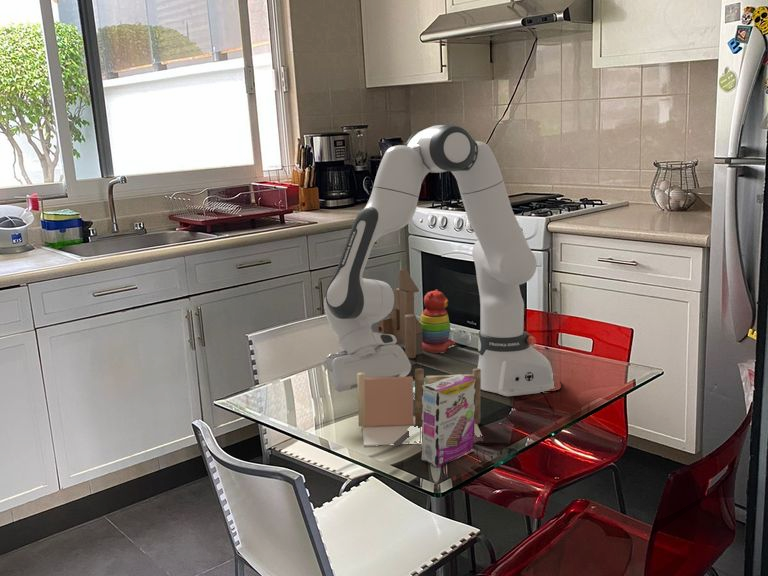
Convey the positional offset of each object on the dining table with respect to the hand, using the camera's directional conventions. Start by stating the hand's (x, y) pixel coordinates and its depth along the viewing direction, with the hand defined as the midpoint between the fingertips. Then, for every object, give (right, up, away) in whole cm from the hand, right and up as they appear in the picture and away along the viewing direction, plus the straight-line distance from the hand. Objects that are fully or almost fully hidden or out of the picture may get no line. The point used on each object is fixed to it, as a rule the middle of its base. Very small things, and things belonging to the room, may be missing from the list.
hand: (383, 398), depth 177 cm
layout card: (+8, -6, -5) cm, 12 cm away
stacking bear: (+16, +7, +58) cm, 60 cm away
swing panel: (+1, -5, -3) cm, 6 cm away
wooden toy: (+5, +6, +54) cm, 55 cm away
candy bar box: (+14, -10, -19) cm, 25 cm away
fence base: (+15, -6, -2) cm, 16 cm away
